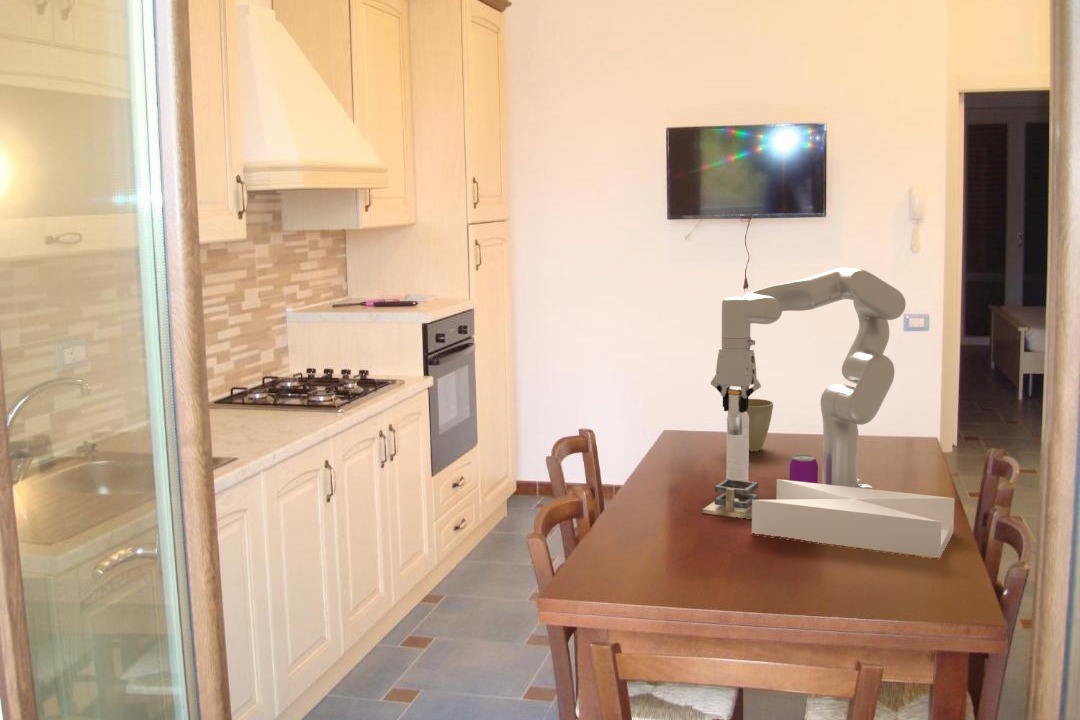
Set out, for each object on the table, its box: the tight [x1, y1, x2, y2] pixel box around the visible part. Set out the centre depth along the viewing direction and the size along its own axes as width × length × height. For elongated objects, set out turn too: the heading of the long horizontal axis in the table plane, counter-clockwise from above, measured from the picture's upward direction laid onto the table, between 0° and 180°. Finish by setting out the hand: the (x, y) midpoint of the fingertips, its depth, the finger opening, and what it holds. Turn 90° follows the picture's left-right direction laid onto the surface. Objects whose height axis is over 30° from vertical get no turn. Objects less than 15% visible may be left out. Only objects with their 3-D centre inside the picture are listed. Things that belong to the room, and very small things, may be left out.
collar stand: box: [702, 478, 759, 520], centre depth 294 cm, size 14×14×7 cm
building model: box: [751, 478, 955, 558], centre depth 272 cm, size 45×22×10 cm, turn 62°
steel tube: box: [727, 387, 743, 435], centre depth 292 cm, size 4×4×12 cm
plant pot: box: [746, 398, 774, 453], centre depth 361 cm, size 15×15×16 cm
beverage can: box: [788, 454, 819, 484], centre depth 303 cm, size 8×8×12 cm
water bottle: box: [725, 412, 750, 486], centre depth 319 cm, size 9×6×25 cm
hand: (735, 410), depth 292 cm, fingers closed on steel tube, 4 cm apart
